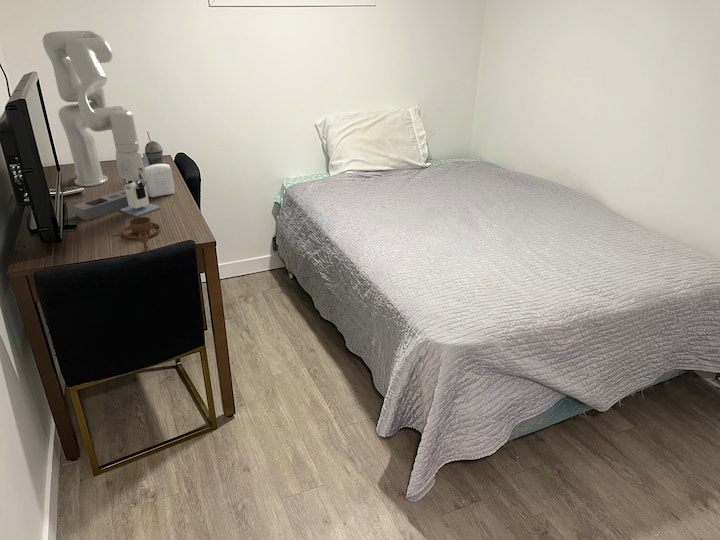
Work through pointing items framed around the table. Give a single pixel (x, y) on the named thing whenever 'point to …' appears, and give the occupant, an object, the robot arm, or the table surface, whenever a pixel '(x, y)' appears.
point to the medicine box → (145, 160)
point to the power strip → (101, 205)
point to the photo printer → (159, 180)
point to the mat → (139, 210)
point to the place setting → (140, 229)
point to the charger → (135, 196)
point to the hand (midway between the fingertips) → (137, 196)
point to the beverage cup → (154, 152)
